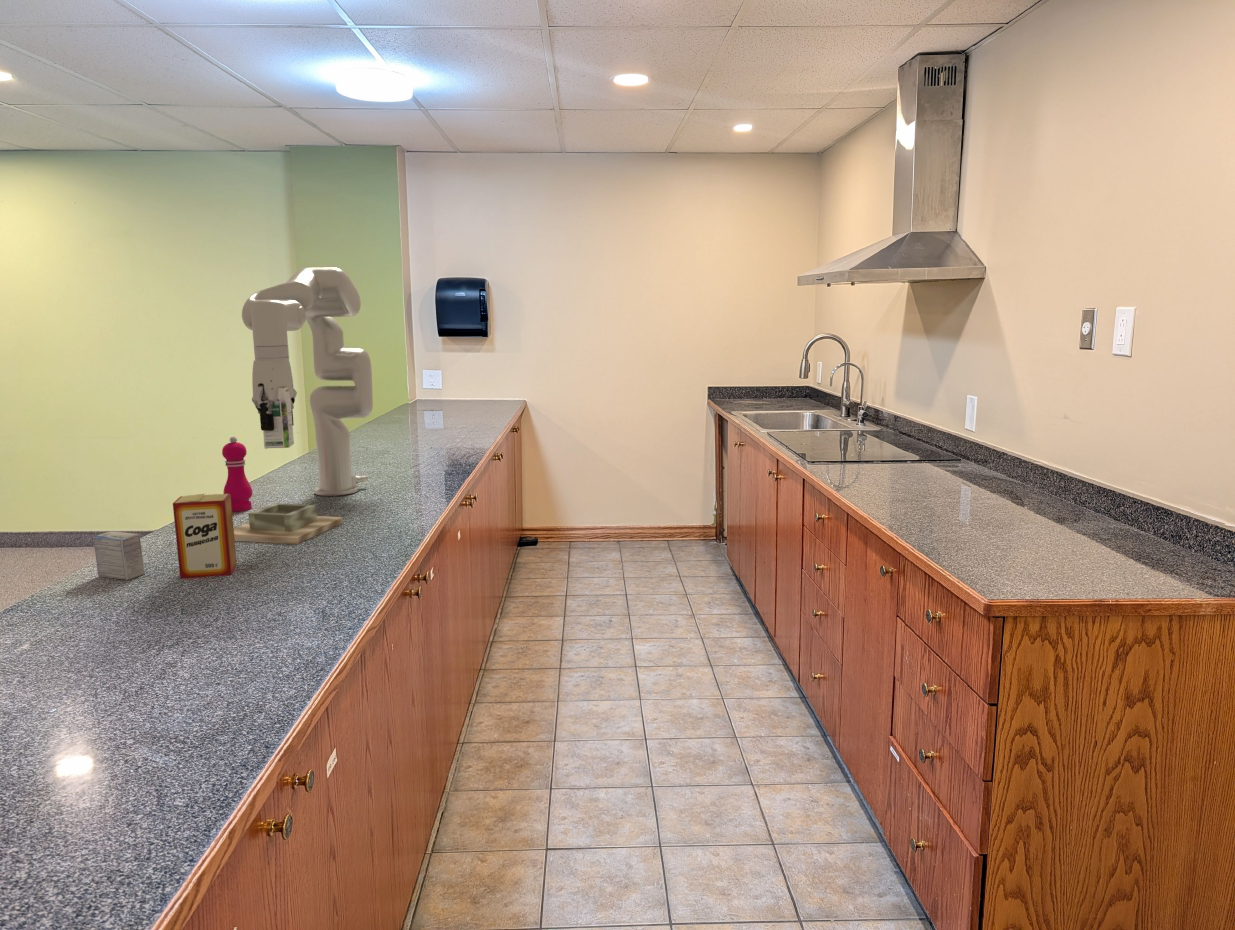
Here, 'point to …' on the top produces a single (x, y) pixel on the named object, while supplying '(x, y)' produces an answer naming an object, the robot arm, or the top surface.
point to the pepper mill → (237, 476)
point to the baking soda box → (204, 535)
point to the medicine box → (118, 555)
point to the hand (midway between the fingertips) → (277, 427)
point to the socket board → (285, 524)
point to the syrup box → (280, 422)
